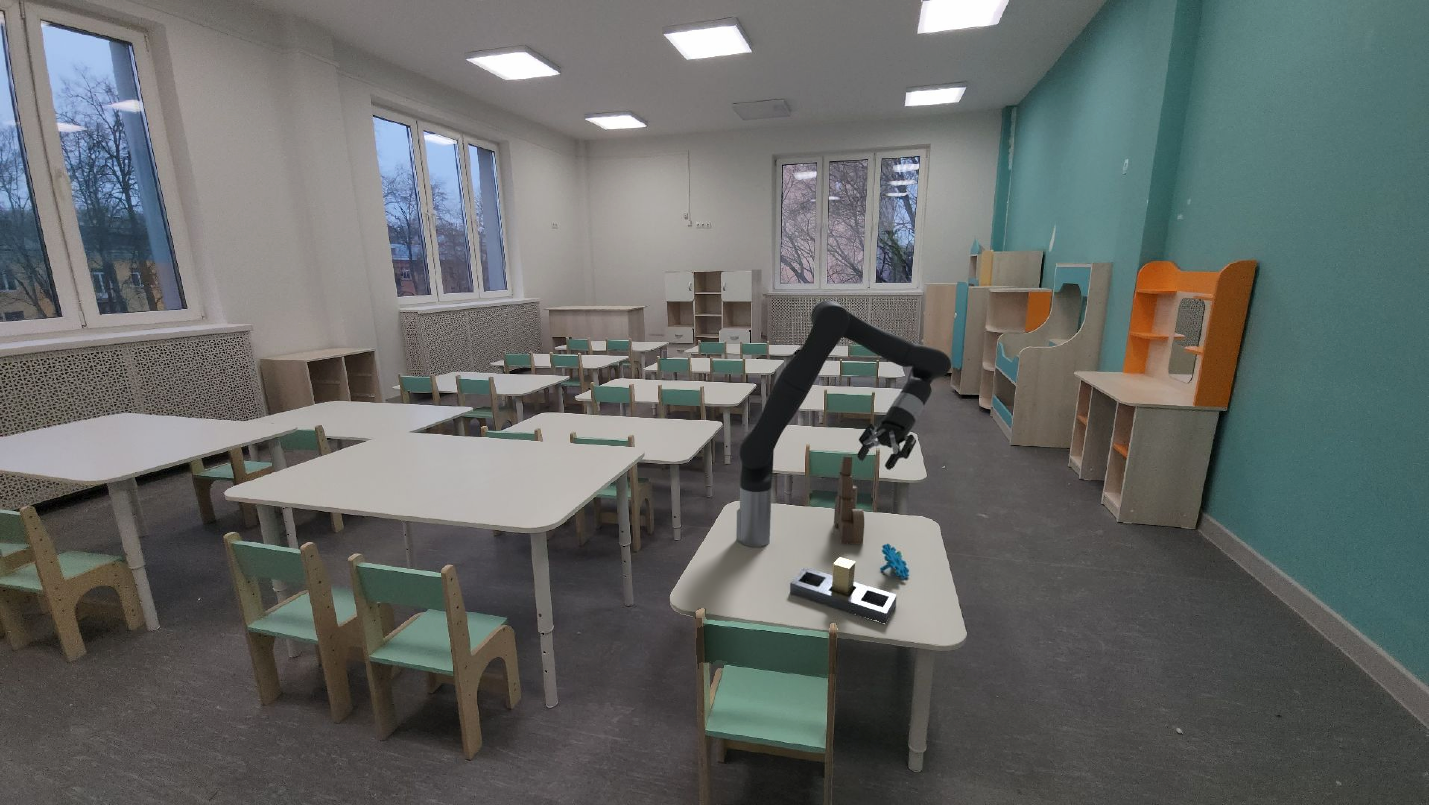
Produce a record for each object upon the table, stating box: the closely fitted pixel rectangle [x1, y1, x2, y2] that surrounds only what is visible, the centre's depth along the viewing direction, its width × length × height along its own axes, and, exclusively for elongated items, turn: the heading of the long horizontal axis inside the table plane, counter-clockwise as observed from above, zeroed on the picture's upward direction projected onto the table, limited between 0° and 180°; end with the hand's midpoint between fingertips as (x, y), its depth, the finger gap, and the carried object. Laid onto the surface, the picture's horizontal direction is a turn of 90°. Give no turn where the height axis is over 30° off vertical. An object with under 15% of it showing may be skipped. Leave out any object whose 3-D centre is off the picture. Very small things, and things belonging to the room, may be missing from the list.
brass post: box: [832, 556, 856, 597], centre depth 141 cm, size 4×4×10 cm
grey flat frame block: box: [789, 566, 898, 624], centre depth 142 cm, size 24×9×3 cm, turn 58°
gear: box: [879, 543, 910, 580], centre depth 155 cm, size 11×6×10 cm
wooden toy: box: [833, 455, 865, 545], centre depth 175 cm, size 15×7×25 cm, turn 178°
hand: (873, 463), depth 149 cm, fingers open, 8 cm apart
